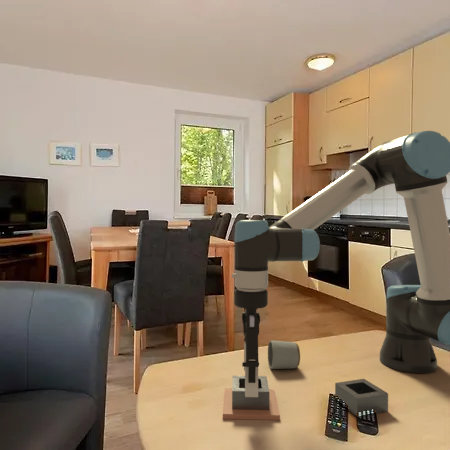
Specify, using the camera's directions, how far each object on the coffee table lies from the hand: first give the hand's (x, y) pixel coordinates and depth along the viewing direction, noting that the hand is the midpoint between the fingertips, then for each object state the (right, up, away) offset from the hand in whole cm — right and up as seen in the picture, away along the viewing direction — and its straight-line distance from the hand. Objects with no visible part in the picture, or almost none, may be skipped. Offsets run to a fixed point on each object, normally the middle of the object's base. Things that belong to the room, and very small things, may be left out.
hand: (250, 382), depth 84 cm
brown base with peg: (0, -5, 0) cm, 5 cm away
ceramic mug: (+11, -5, +23) cm, 26 cm away
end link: (0, -4, 0) cm, 4 cm away
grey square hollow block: (+25, -5, 0) cm, 26 cm away
